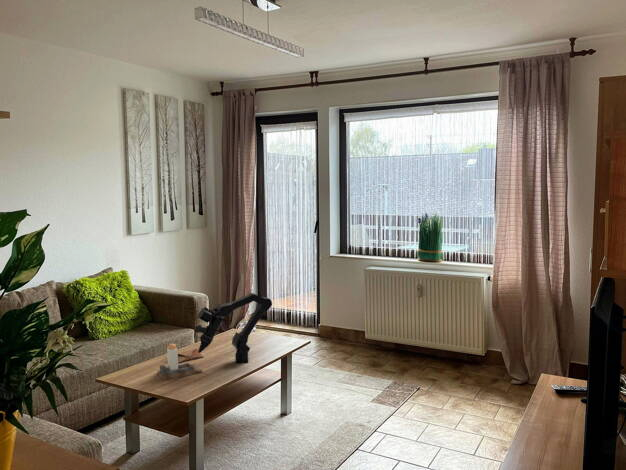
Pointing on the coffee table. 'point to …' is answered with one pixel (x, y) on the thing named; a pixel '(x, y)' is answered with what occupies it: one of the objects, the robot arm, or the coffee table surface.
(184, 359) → the sunglasses case
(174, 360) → the white tall boxy piece
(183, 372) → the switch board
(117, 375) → the coffee table surface
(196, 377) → the coffee table surface
